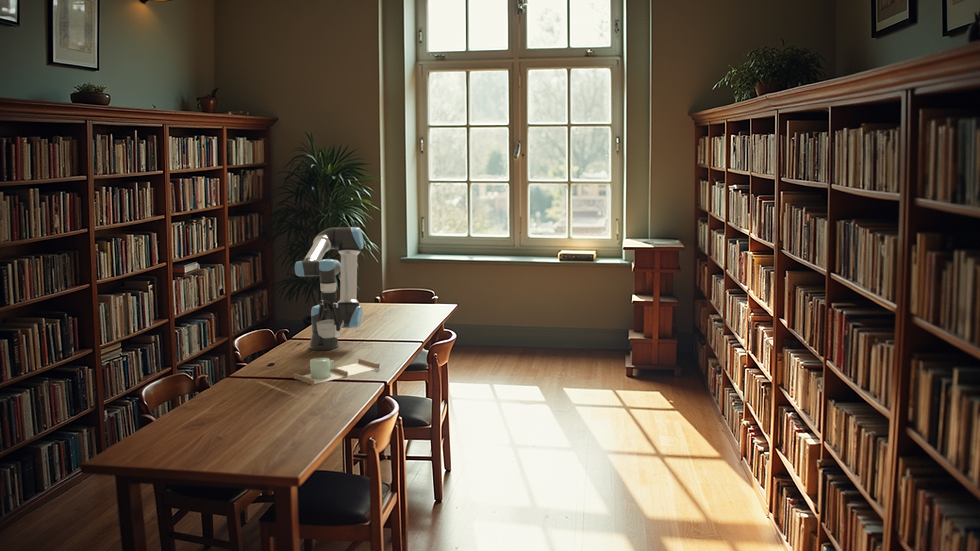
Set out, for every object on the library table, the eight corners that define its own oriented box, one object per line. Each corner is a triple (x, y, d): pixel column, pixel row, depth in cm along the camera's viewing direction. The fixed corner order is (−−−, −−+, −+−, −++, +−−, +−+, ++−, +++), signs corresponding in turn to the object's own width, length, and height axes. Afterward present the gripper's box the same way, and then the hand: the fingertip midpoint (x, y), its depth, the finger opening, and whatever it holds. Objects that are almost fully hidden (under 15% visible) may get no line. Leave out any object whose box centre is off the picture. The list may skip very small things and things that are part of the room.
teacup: (321, 340, 402) (320, 324, 401) (314, 336, 412) (313, 320, 410) (348, 336, 409) (347, 320, 407) (341, 332, 418) (340, 316, 417)
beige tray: (293, 380, 387) (293, 373, 386) (360, 364, 412) (359, 358, 411) (312, 386, 375) (312, 380, 375) (379, 370, 400) (379, 363, 400)
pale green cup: (307, 377, 387) (306, 360, 386) (328, 372, 395) (327, 355, 394) (317, 380, 381) (316, 363, 380) (339, 375, 389) (338, 358, 388)
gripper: (308, 289, 413) (311, 333, 416) (335, 295, 396) (337, 340, 400) (322, 287, 418) (324, 330, 421) (348, 293, 401) (350, 337, 405)
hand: (331, 335), depth 411 cm, fingers closed on teacup, 11 cm apart
